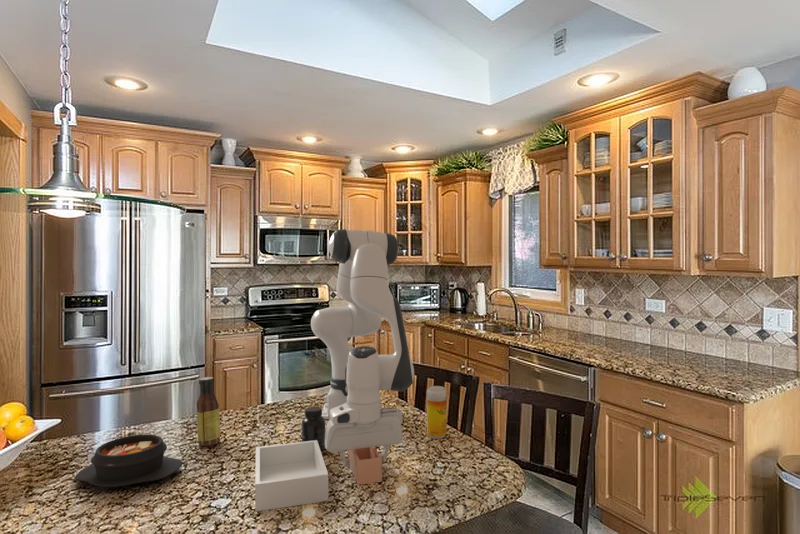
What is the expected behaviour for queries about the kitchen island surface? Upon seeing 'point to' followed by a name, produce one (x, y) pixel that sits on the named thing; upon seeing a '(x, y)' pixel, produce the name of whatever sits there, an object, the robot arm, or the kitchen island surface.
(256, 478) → the grey crate
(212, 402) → the sauce bottle
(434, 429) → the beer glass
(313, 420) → the supplement bottle
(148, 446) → the casserole
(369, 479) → the terracotta crate
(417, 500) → the kitchen island surface
